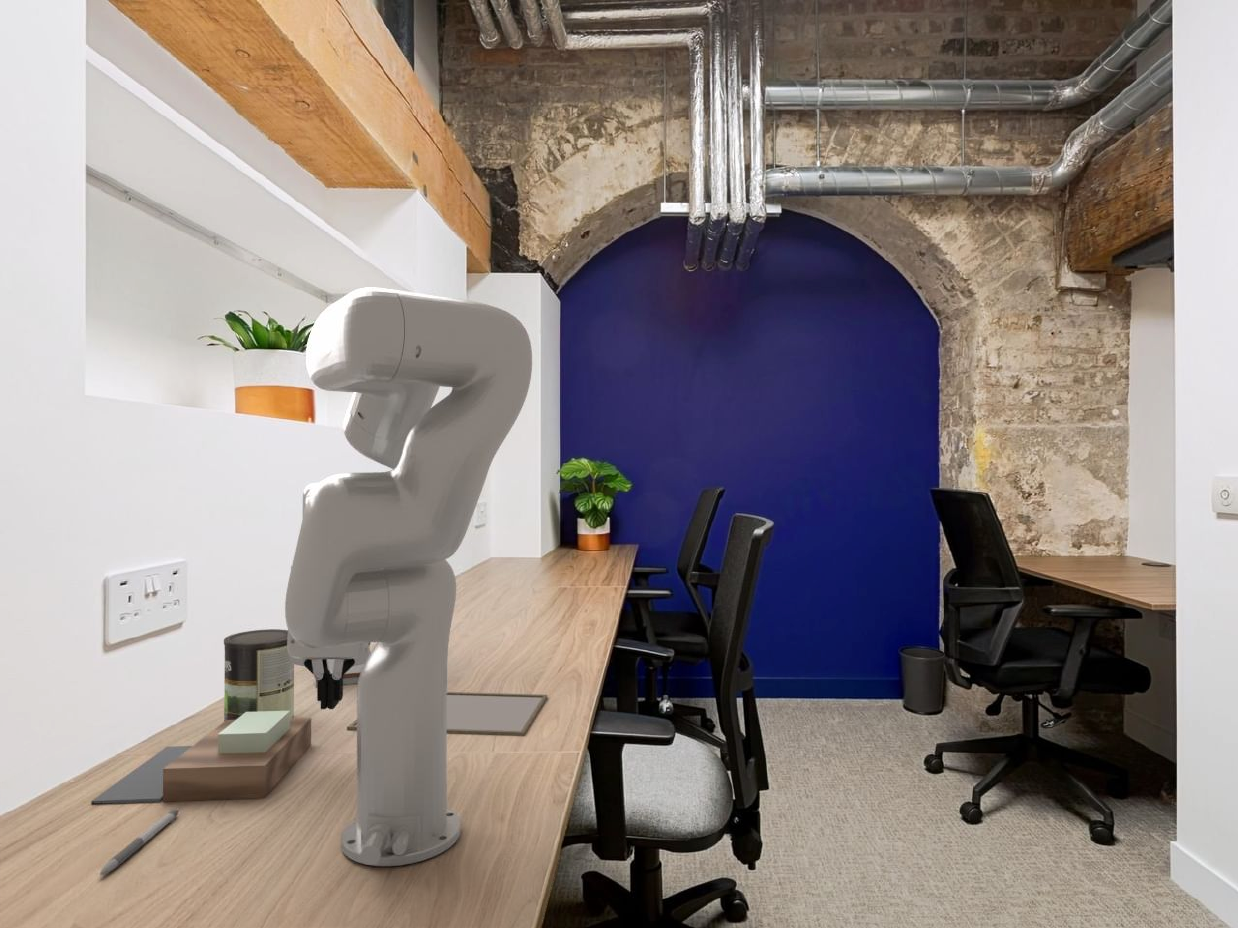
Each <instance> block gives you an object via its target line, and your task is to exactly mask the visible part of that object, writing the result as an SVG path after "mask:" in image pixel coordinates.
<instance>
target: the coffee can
mask: <svg viewBox="0 0 1238 928" xmlns="http://www.w3.org/2000/svg"><path fill="white" fill-rule="evenodd" d="M287 639H288V629H278V628H277V629H273V628H272V629H255V630H248V631H242V632H237V633H233V634H230V635H228V636H226V637H225V638H224V639H223V645H224V697H223V698H224V701H223V702H224V705H223V706H224V707H223V709H224V711H223V712H224V713H223V714H224V715H223V717H224V719H223V722H225V721H226V720H236V719H238V718H239V717H240V716H242V715H243V714H244V713H245V712H261V711H290V718H295V714H294V713H295V710H294V709H295V664H291V663H290V662H289V657H290V655H289V654H288V650H287Z"/></svg>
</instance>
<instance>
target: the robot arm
mask: <svg viewBox="0 0 1238 928" xmlns="http://www.w3.org/2000/svg"><path fill="white" fill-rule="evenodd" d="M308 336H309V337H308V339H307V345H306V351H305V352H306V353H305V363H306V369H307V373H308V376H309V378H310V380H311V381H312V383H313V384H314V385H315V386H317V388H319V389H320V390H323V391H329V392H342V393H353V394H352V396H351V399H350V402H349V405H348V408H347V411H346V413H345V416H344V418H343V424H342V425H343V433H344V437H345V439H346V440H347V442H348V443H349V444H350V446H351V447H352V448H353V449H354V450H356V451H357V452H358V453H359V454H360V455H362V456H364V457H366V458H368V459H370V460H372V461H374V462H376V463H378V464H380V465H382V466H385V467H387V468H390V469H391V470H388V471H384V472H383V471H382V472H378V471H377V472H375V471H374V472H344V473H338V474H332V475H330V476H328V477H326V478H324V479H323V480H321V481H320V482H318V481H317V482H311V483H310V484H308V485H306V486H305V488H304V489H303V493H302V520H301V526H300V529H299V532H298V533H299V534H298V539H297V543H296V547H295V552H294V556H293V561H292V564H291V566H290V572H289V576H288V577H289V578H288V582H287V588H286V594H285V602H284V603H285V605H284V606H285V607H284V609H285V610H284V613H285V614H284V615H285V622H286V627H287V630H288V639H287V650H288V654H289V655H290V657H289V662H290V663H291V664H294V666H295V665H296V666H301V667H305V668H306V669H307V670H308V671H309V672H310V673H311V674H312V675H313V678H314V680H315V681H316V680H317V688H316V691H317V695H316V700H317V702H320V709H321V710H326V709H329V710H334V709H335V708H336V707H337V705H339V703H340V702H341V701H342V699H343V697H344V685H343V675H344V674H345V673H346V672H347V671H348V670H349V669H350V668H351V667H352V666H357V665H361V664H364V666H363V668H362V670H361V673H360V676H359V679H358V684H357V686H356V687H357V688H356V689H357V690H356V720H357V731H356V818H355V819H354V820H353V821H351V822H350V823H349V824H348V825H347V826H346V827H345V828H344V830H343V832H342V833H341V850H342V853H344V855H345V856H346V857H347V858H348V859H350V860H352V861H354V862H356V863H359V864H362V865H367V866H374V867H399V866H404V865H410V864H415V863H418V862H423V861H425V860H428V859H431V858H433V857H435V856H438V855H440V854H442V853H444V852H445V851H447V850H448V849H450V848H451V847H452V846H453V845H454V844H455V843H456V842H457V841H458V839H459V838H460V835H461V831H462V822H461V821H462V820H461V818H460V816H459V815H458V814H457V813H456V812H455V811H454V810H452V809H450V807H447V786H448V785H447V784H448V783H447V779H448V778H447V773H448V772H447V767H448V766H447V759H448V757H447V753H448V752H447V751H448V750H447V747H448V746H447V741H448V740H447V738H448V736H447V735H448V734H447V692H448V659H449V657H448V653H449V643H450V635H451V627H452V621H453V616H454V611H455V606H456V598H457V582H456V580H457V579H456V575H455V572H454V570H453V568H452V566H451V565H450V562H448V561H447V560H448V559H449V558H451V557H452V556H453V555H455V553H456V552H457V551H458V550H459V548H460V546H461V545H462V543H463V540H464V538H465V537H466V534H467V532H468V528H469V526H470V523H471V521H472V517H473V515H474V512H475V509H476V507H477V505H478V501H479V499H480V496H481V493H482V490H483V488H484V486H485V485H484V484H485V482H486V478H487V476H488V474H489V471H490V467H491V465H492V463H493V460H494V458H495V456H496V454H497V452H498V451H499V449H500V447H501V446H502V444H503V442H504V441H505V439H507V436H508V434H509V433H510V431H511V430H512V428H513V426H514V425H515V423H516V421H517V419H518V417H519V415H520V414H521V410H522V409H523V406H524V404H525V401H526V398H527V397H528V392H529V390H530V384H531V380H532V370H533V351H532V350H533V349H532V345H531V340H530V336H529V334H528V332H527V328H526V327H525V326H524V325H523V323H522V321H520V320H519V319H518V318H517V317H516V316H514V315H513V314H511V313H510V312H508V311H507V310H504V309H503V308H502V309H501V308H499V307H496V306H493V305H490V304H487V303H482V302H477V301H473V300H466V299H461V298H454V297H446V296H440V295H439V296H437V295H430V294H424V293H417V292H410V291H406V290H405V291H404V290H397V289H391V288H390V289H389V288H382V287H362V288H358V289H355V290H353V291H351V292H349V293H348V294H346V295H344V296H343V297H342V298H340V299H339V300H337V301H334V303H332V304H331V305H329V306H328V307H327V308H326V309H324V311H323V312H321V314H320V315H319V316H318V318H317V319H316V321H315V323H314V324H313V326H312V327H311V331H310V334H309V335H308ZM440 387H443V388H445V387H446V388H451V392H450V393H449V394H448V395H447V396H445V397H444V398H443V399H441V400H439V401H438V402H437V403H435V404H434V402H435V399H436V397H437V395H438V392H439V389H440ZM433 404H434V405H433ZM371 643H376V644H375V646H374V647H373V648H372V650H371V649H370V646H371ZM328 659H335V660H334V666H333V672H332V674H330V671H329V666H328Z"/></svg>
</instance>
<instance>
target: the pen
mask: <svg viewBox="0 0 1238 928" xmlns="http://www.w3.org/2000/svg"><path fill="white" fill-rule="evenodd" d="M178 814H179V808H176V809H175V808H174V809H172V810H170V811H169V812H167V813H166V814H165V815H164V816H162V817H161V818H160V819H159V820H157V822H155V823H154V824H153V825H151V826H150V827H149V828H148V829H146V830H145V831H144V832H143V833H141V835H138V837H136V838H135V839H134V840H133V841H132V842H130V843H129V844H128V845H127V846H125V847H124V848H123V849H122V850H120V851H119V852H118V853H117V854H115V855H114V856H113V857H112V858H111V859H110V860H109V861H107V863H106V864H105V865H104V866H103V867H102V868H101V870H100V872H99V875H102V876H103V875H106V874H109V873H111V872H112V871H114V870H115V869H116V868H118V867H119V866H120V865H122V863H124V862H125V860H127V859H128V858H129V857H131V856H132V855H133V854H134V853H135V852H137V851H138V850H139V849H140V848H141V847H143V845H145V843H147V842H148V841H149V840H151V839H153V838H154V837H155V835H156V834H157V833H158V832H160V831H161V830H162V829H164V828H165V826H168V824H170V825H171V824H172V823H174V822H175V820H176V817H177V816H178Z"/></svg>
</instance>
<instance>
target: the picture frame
mask: <svg viewBox="0 0 1238 928" xmlns="http://www.w3.org/2000/svg"><path fill="white" fill-rule="evenodd" d="M547 700H548V694H538V693H537V694H533V693H505V692H504V693H501V692H499V693H497V692H468V691H467V692H464V691H462V692H461V691H447V735H450V734H452V735H479V736H480V735H483V736H509V737H511V736H512V737H524V736H525V735H526V733H527V732H528V730H529V729H530V727H531V725H532V724H533V722H534V720H535V719H536V717H537V716H538V714H539V712H540V711H541V710H542V707H543V706H544V704H545V703H546V701H547ZM346 731H355V732H357V719H355V720H354V721H353V722H351V723H350V724H349V725H347V726H346Z"/></svg>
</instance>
